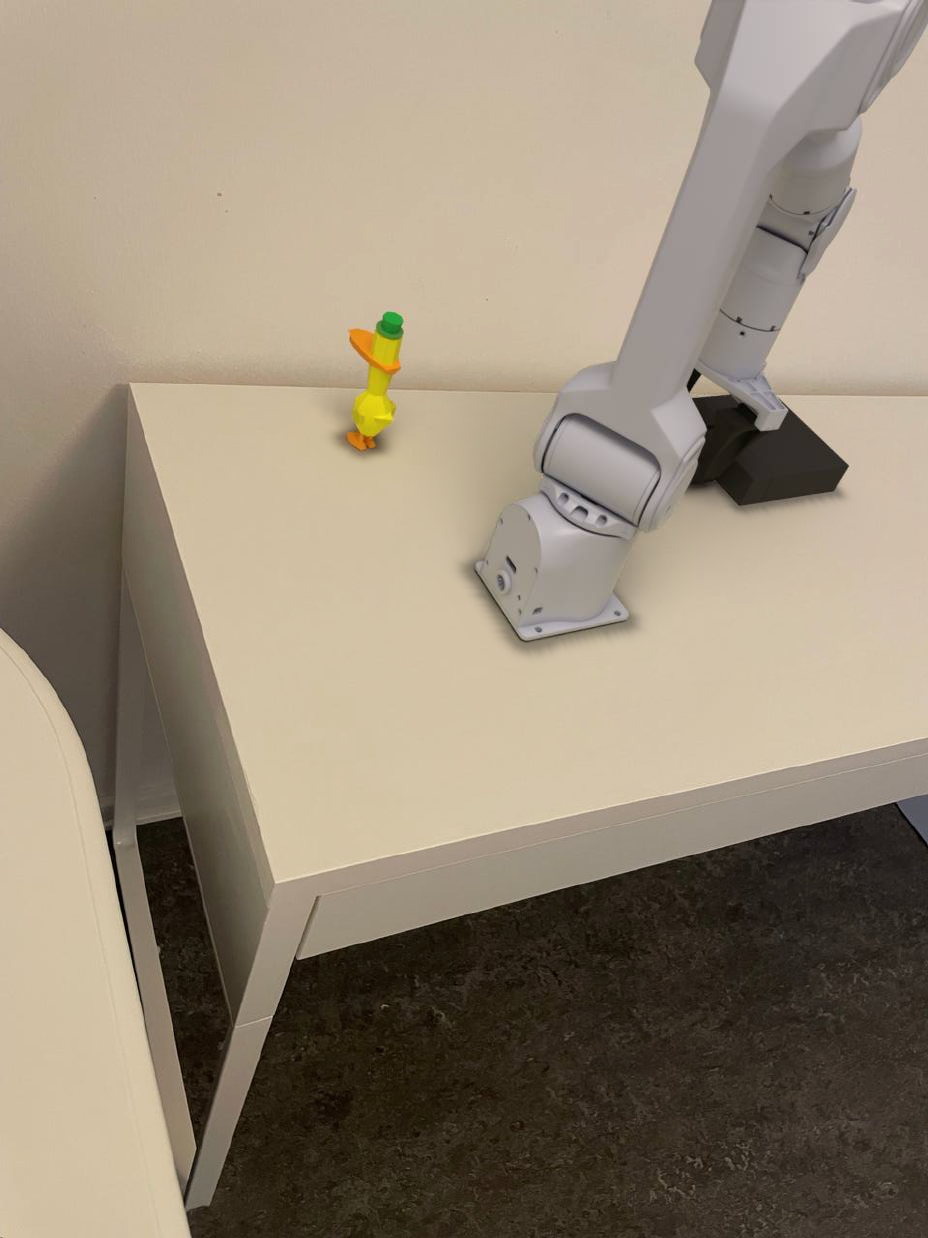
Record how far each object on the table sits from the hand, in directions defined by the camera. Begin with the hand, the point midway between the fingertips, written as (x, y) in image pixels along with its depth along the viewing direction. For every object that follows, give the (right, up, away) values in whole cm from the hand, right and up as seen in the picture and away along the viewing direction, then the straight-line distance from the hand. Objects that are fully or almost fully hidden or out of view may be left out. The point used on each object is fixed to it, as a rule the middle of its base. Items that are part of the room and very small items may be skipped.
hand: (684, 448), depth 92 cm
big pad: (+7, 0, +6) cm, 9 cm away
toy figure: (-28, -1, -7) cm, 29 cm away
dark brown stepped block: (0, -1, +2) cm, 2 cm away
